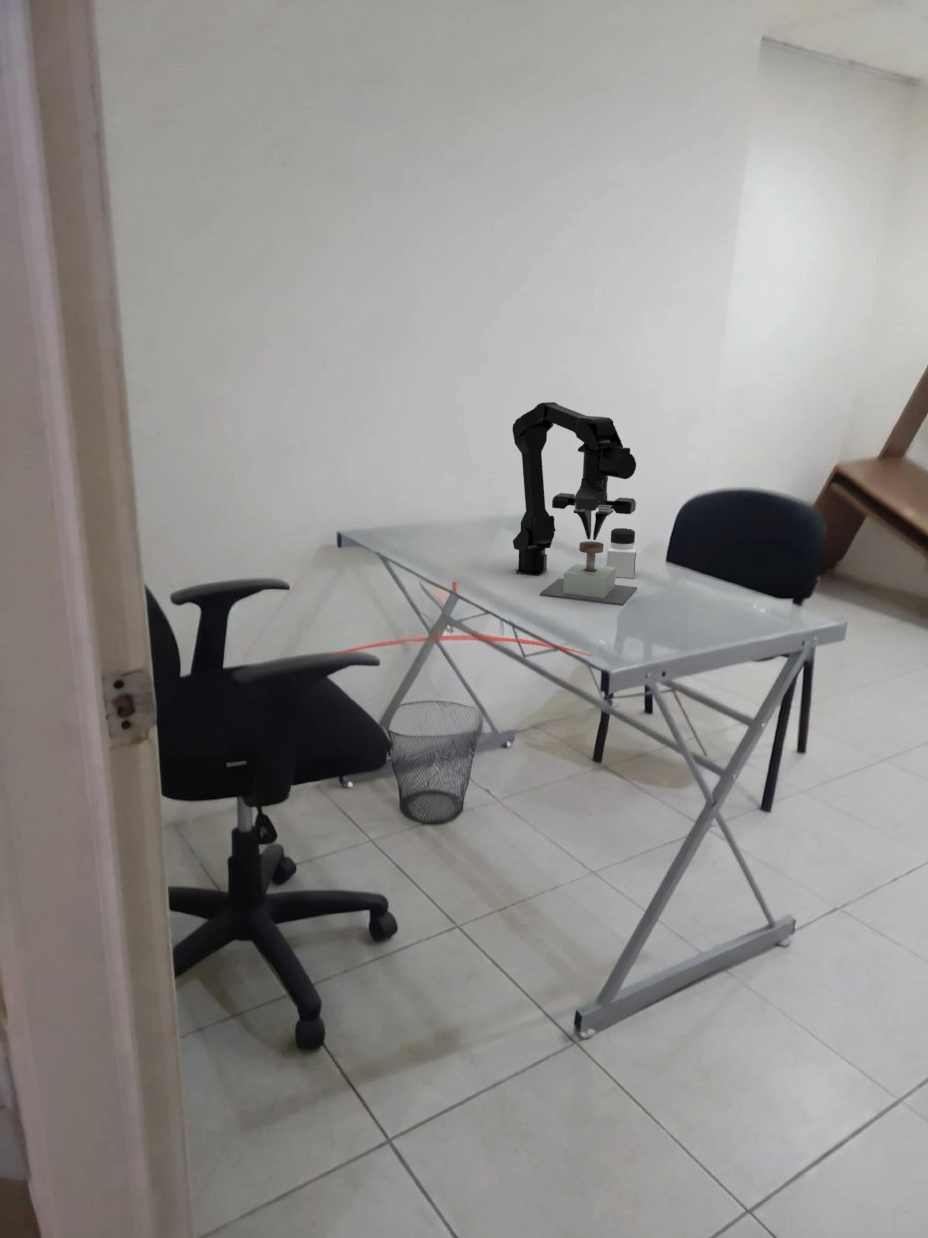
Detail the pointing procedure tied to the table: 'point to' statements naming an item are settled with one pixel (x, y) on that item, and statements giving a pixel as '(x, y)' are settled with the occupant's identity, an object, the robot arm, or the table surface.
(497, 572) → the table surface
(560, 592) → the press base
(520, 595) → the table surface
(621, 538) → the medicine bottle
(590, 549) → the plunger
